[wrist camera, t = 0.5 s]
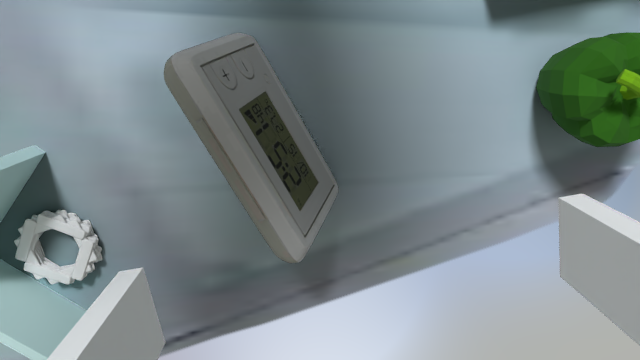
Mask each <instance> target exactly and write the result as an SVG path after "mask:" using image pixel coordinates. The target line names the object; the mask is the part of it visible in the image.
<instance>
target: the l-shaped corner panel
mask: <svg viewBox="0 0 640 360" xmlns="http://www.w3.org/2000/svg"><path fill="white" fill-rule="evenodd" d="M45 153H46V152H45V151H43V150H42V149H40V148H39V147H37V146H35V145H33V146H30V147H27V148H24V149H21V150H19V151H16V152H13V153H10V154H7V155H4V156H1V157H0V223H1V222H2V220H3V218H4V217H5V215H6V214H7V212H8V211H9V209H10V207H11V206H12V204H13V203H14V201H15V200H16V198H17V197H18V195H19V193H20V192H21V190H22V189H23V187H24V186H25V184H26V182H27V181H28V179H29V178H30V176H31V175H32V173H33V172H34V170H35V168H36V167H37V165H38V164H39V162H40V161H41V159H42V157H43V156H44V154H45ZM50 229H54V230H57V231H59V232H62V233H65V234H67V235H70V236H73V237H74V239H75V241H76V243H77V245H78V247H79V248H80V250H79V253H78V256H77V259H76V262H75V264H72V265H67V266H62V267H60V266H58V265H57V264H55V263H53V262H52V261H50V260H49V259H47V258H46V257H45V254H44V251H43V249H42V246H41V243H40V241H39V238H40V236H41V235H42V233H43V232H44V231H47V230H50ZM18 230H19V232H20V234H21V236H20V237H18V239H16V240H15V241H14V243H15V244H16V246H17V251H16V255H15V259H17V260H21V261H25V264H24V271H27V272H30V273H33V275H34V277H35V279H37V280H38V279H41V278H44V277H45V278H47V280H48V281H49V283H50V284H55V283H58V282H61V283H64V284H67V285H69V284H70V283H71V284H72V283H74V281H75V279H76V280H80V281H81V280H83V278H85V277H87V273H91V272H92V270H95V265H94V263H96V262H98V261H101V260H103V258H102V255H101V250H102V248H101V247H100V246H99V245H98V241H99V239H98V238H97V237H98V236H97V235H96V234H94V232H93V229H92V226H91V223H90V221H89V220H84V221H81V220H80V218H79V217H78V216H77V214H76V213H67V212H66V211H65V210H62V211H61V210H57V211H56V213H53V212H50V211H43V212H42V214H39V215H38V216H37V215H33V216H32V218H31V219H26V220H25V222H24V224H23V226H22V227H20V228H19V229H18ZM35 279H33V278H32V277H30V276H28V275H27V274H25V273H23V272H21V271H20V270H18V269H16V268H15V267H13V266H11V265H10V264H8V263H6V262H5V261H3V260H1V259H0V343H2V344H4V345H6V346H8V347H9V348H11V349H13V350H15V351H17V352H18V353H20V354H22V355H24V356H26V357H27V358H29V359H31V360H47V359H48V357H49V356H50V355H51V354H52V353H53V351H54V350H55V349H56V348H57V346H58V345H59V344H60V343H61V342H62V340H63V339H64V338H65V337H66V336H67V334H68V333H69V332H70V331H71V329H72V328H73V327H74V326H75V325H76V323H77V322H78V321H79V320H80V318H81V317H82V316H83V315H84V314H85V312H86V311H87V310H86V309H84V308H82V307H81V306H79V305H77V304H76V303H74V302H72V301H71V300H69V299H67V298H66V297H64V296H62V295H60V294H59V293H57V292H55V291H54V290H52V289H50V288H49V287H47V286H45V285H43V284H42V283H40V282H38V281H37V280H35Z"/></svg>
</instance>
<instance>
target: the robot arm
mask: <svg viewBox="0 0 640 360" xmlns="http://www.w3.org/2000/svg"><path fill="white" fill-rule="evenodd" d="M558 202H559V246H560V247H559V248H560V249H559V251H560V277H561V278H562V279H563V280H565V281H566V282H567V283H568V284H569V285H570V286H572V287H573V288H574V289H575V290H576V291H577V292H578V293H580V294H581V295H582V296H583V297H584V298H585V299H586V300H588V301H589V302H590V303H591V304H592V305H593V306H595V307H596V308H597V309H598V310H599V311H600V312H602V313H603V314H604V315H605V316H606V317H607V318H609V319H610V320H611V321H612V322H613V323H614V324H615V325H616V326H618V327H619V328H620V329H621V330H622V331H623V332H624V333H626V334H627V335H628V336H629V337H630V338H631V339H633V340H634V341H635V342H636V343H637V344H638V345H639V346H640V222H638V221H636V220H634V219H632V218H630V217H628V216H626V215H624V214H622V213H620V212H618V211H616V210H614V209H612V208H610V207H609V206H607V205H605V204H603V203H601V202H599V201H597V200H595V199H593V198H591V197H589V196H587V195H585V194H577V195H571V196H565V197H559V198H558ZM165 343H166V342H165V339H164V335H163V332H162V329H161V325H160V322H159V319H158V315H157V312H156V309H155V305H154V302H153V299H152V295H151V292H150V288H149V285H148V282H147V278H146V275H145V272H144V268H137V269H131V270H125V271H119V272H118V273H117V275H116V276H115V277H114V278H113V280H112V281H111V282H110V283H109V284H108V286H107V287H106V288H105V289H104V290H103V292H102V293H101V294H100V295H99V297H98V298H97V299H96V300H95V301H94V303H93V304H92V305H91V306H90V308H89V309H88V310H87V311H86V312H85V314H84V315H83V316H82V317H81V318H80V320H79V321H78V322H77V323H76V325H75V326H74V327H73V328H72V329H71V331H70V332H69V333H68V334H67V336H66V337H65V338H64V339H63V340H62V342H61V343H60V344H59V345H58V346H57V348H56V349H55V350H54V351H53V353H52V354H51V355H50V356H49V357H48V359H47V360H158V358H159V356H160V354H161V351H162V349H163V347H164V345H165Z"/></svg>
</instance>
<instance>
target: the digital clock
mask: <svg viewBox="0 0 640 360" xmlns="http://www.w3.org/2000/svg"><path fill="white" fill-rule="evenodd" d="M164 79H165V82H166V84H167V86H168V88H169V90H170V91H171V93H172V94H173V96H174V98H175V99H176V101H177V103H178V104H179V106H180V107H181V109H182V111H183V112H184V114H185V115H186V117H187V119H188V120H189V122H190V123H191V125H192V126H193V128H194V130H195V131H196V133H197V134H198V136H199V137H200V139H201V141H202V142H203V144H204V145H205V147H206V148H207V150H208V152H209V153H210V155H211V156H212V158H213V159H214V161H215V162H216V164H217V166H218V167H219V169H220V170H221V172H222V173H223V175H224V177H225V178H226V180H227V181H228V183H229V184H230V186H231V188H232V189H233V191H234V192H235V194H236V195H237V197H238V198H239V200H240V202H241V203H242V205H243V206H244V208H245V209H246V211H247V213H248V214H249V216H250V217H251V219H252V220H253V222H254V224H255V225H256V227H257V228H258V230H259V231H260V233H261V234H262V236H263V237H264V239H265V240H266V242H267V243H268V245H269V246H270V248H271V249H272V251H273V252H274V254H275V255H276V256H277V257H278V258H280V259H282V260H283V261H286V262H288V263H298V262H301V261H302V260H303V258H304V257H305V255H306V254H307V252H308V250H309V249H310V247H311V245H312V243H313V241H314V239H315V237H316V235H317V234H318V232H319V230H320V228H321V226H322V224H323V222H324V220H325V218H326V216H327V214H328V212H329V210H330V208H331V207H332V205H333V203H334V201H335V199H336V197H337V194H338V190H339V189H338V185H337V182H336V180H335V178H334V177H333V175H332V173H331V171H330V169H329V167H328V166H327V164H326V162H325V160H324V159H323V157H322V155H321V153H320V151H319V150H318V148H317V146H316V144H315V143H314V141H313V139H312V137H311V136H310V134H309V132H308V130H307V129H306V127H305V125H304V123H303V121H302V120H301V118H300V116H299V114H298V113H297V111H296V109H295V107H294V106H293V104H292V102H291V100H290V98H289V97H288V95H287V93H286V91H285V90H284V88H283V86H282V84H281V83H280V81H279V79H278V77H277V76H276V74H275V72H274V70H273V68H272V67H271V65H270V63H269V61H268V60H267V58H266V56H265V55H264V53H263V51H262V49H261V48H260V46H259V44H258V43H257V41H256V40H255V39H254V37H252V36H250V35H247V34H242V33H233V34H230V35H227V36H224V37H221V38H218V39H215V40H212V41H209V42H206V43H203V44H200V45H197V46H194V47H191V48H188V49H185V50H182V51H180V52H177V53H175V54H174V55H173V56H171V57H170V58H169V59H168V60H167V62H166V64H165V68H164Z"/></svg>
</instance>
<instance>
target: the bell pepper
mask: <svg viewBox="0 0 640 360" xmlns="http://www.w3.org/2000/svg"><path fill="white" fill-rule="evenodd" d="M536 88H537V91H538V94H539V97H540V100H541V103H542V105H543V106H544V107H545V108H546V109H547V110H548V111H550V112H551V113H552V117H553V119H554V120H555V121H556V123H557V124H558V125H559V126H560V127H562V128H563V129H564V130H565V131H566V132H567V133H569V134H571V135H572V136H574V137H575V138H577V139H579V140H580V141H582V142H585V143H587V144H590V145H593V146H596V147H610V146H620V145H623V144H626V143H629V142H632V141H635V140H638V139H640V33H618V34H609V35H607V36H604V37H598V38H589V39H586V40H584V41H582V42H579V43H577V44H575V45H573V46H571V47H569V48H567V49H565V50H563V51H561V52H559V53H557V54H555V55H553V56H552V57H551V58H550V59H549V61H548V62H547V63H546V64H545V66H544V67H543V68H542V69H541V71H540V73H539V78H538V82H537V87H536Z"/></svg>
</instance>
